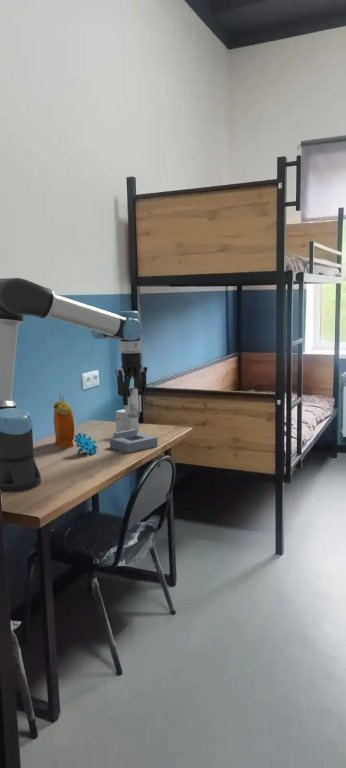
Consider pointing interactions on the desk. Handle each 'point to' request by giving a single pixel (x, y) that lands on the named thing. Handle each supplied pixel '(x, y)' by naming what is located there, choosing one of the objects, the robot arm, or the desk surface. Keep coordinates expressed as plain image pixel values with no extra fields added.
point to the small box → (125, 422)
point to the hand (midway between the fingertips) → (133, 412)
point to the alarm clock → (63, 424)
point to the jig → (132, 441)
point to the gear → (85, 444)
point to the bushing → (133, 402)
